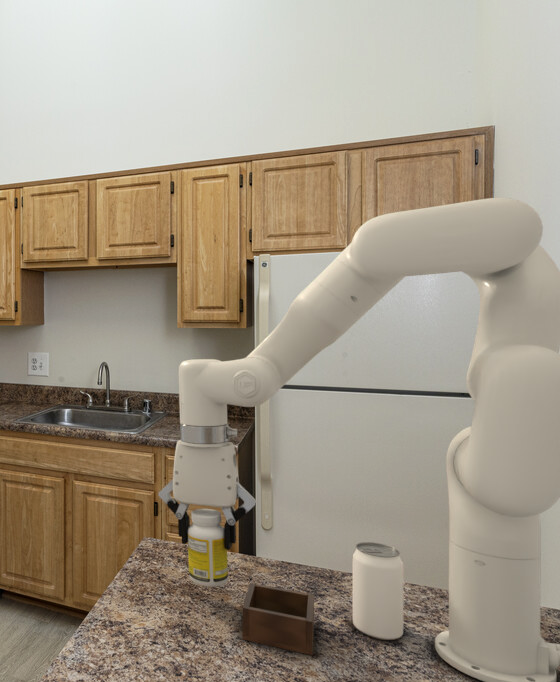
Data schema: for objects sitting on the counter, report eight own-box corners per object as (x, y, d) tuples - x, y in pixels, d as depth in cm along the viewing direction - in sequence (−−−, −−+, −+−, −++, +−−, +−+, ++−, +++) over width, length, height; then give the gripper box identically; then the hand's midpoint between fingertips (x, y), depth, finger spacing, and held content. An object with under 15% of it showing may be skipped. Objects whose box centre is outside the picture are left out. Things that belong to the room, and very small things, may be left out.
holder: (313, 624, 84) (313, 594, 84) (312, 655, 76) (312, 621, 76) (250, 611, 88) (250, 582, 88) (242, 639, 80) (242, 607, 80)
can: (411, 643, 79) (411, 559, 79) (361, 639, 80) (361, 555, 80) (392, 620, 85) (392, 542, 85) (346, 616, 87) (346, 539, 87)
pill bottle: (223, 572, 94) (221, 507, 94) (232, 588, 88) (230, 518, 88) (186, 572, 95) (184, 507, 95) (191, 588, 89) (189, 518, 89)
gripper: (262, 433, 91) (265, 543, 91) (158, 428, 99) (161, 530, 99) (257, 441, 85) (260, 560, 85) (145, 435, 92) (149, 544, 92)
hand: (207, 543), depth 92 cm, fingers closed on pill bottle, 6 cm apart
